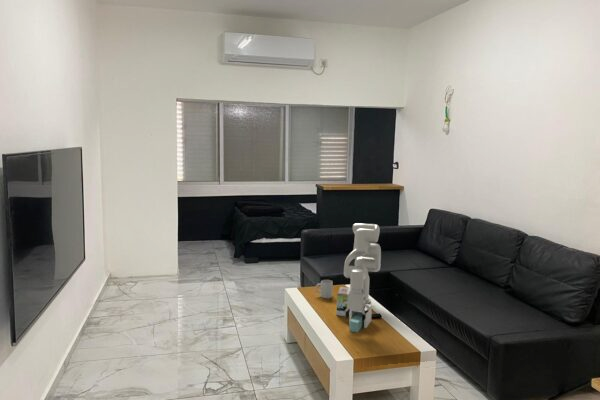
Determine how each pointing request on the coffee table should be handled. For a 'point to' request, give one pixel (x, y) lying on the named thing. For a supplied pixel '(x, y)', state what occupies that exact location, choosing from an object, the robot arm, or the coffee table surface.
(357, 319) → the pale blue rectangular block
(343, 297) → the tea box
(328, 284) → the mug
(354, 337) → the coffee table surface
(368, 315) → the white arch block
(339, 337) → the coffee table surface
